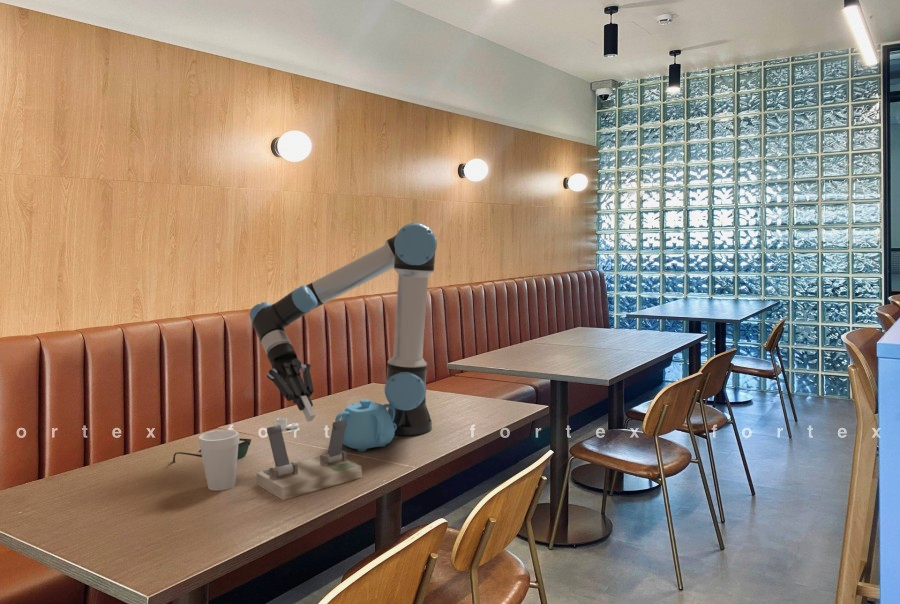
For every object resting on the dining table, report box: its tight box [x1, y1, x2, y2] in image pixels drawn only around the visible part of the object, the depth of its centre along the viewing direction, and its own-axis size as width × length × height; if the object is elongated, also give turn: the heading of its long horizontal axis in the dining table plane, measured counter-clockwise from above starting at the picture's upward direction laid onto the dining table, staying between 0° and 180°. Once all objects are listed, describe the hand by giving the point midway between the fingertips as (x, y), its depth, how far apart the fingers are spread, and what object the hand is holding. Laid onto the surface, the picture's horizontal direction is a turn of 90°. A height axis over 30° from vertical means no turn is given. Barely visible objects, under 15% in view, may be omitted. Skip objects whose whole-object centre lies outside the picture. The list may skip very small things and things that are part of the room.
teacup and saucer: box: [272, 416, 300, 434], centre depth 223 cm, size 9×8×4 cm
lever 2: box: [324, 420, 347, 463], centre depth 178 cm, size 4×2×12 cm, turn 130°
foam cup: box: [198, 429, 240, 492], centre depth 173 cm, size 10×9×13 cm
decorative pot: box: [334, 398, 397, 452], centre depth 204 cm, size 16×16×14 cm
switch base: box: [255, 449, 363, 501], centre depth 176 cm, size 22×14×5 cm, turn 130°
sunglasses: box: [172, 437, 252, 463], centre depth 194 cm, size 16×17×5 cm
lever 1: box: [266, 425, 293, 477], centre depth 172 cm, size 4×2×12 cm, turn 130°
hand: (311, 418), depth 187 cm, fingers closed
